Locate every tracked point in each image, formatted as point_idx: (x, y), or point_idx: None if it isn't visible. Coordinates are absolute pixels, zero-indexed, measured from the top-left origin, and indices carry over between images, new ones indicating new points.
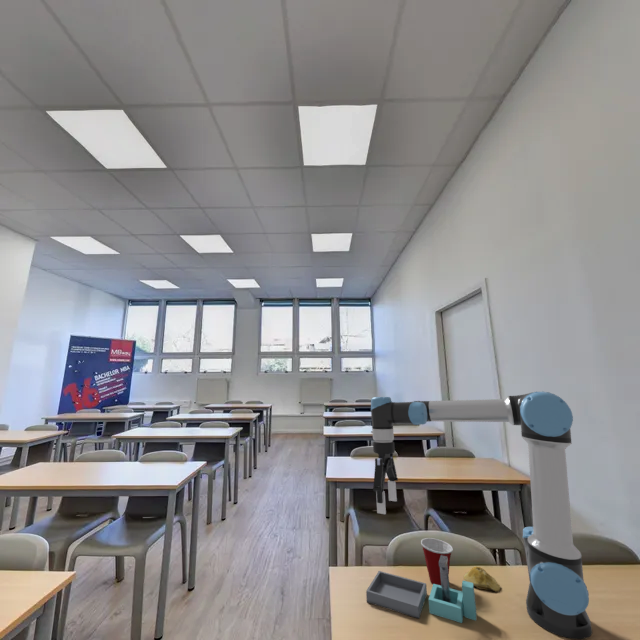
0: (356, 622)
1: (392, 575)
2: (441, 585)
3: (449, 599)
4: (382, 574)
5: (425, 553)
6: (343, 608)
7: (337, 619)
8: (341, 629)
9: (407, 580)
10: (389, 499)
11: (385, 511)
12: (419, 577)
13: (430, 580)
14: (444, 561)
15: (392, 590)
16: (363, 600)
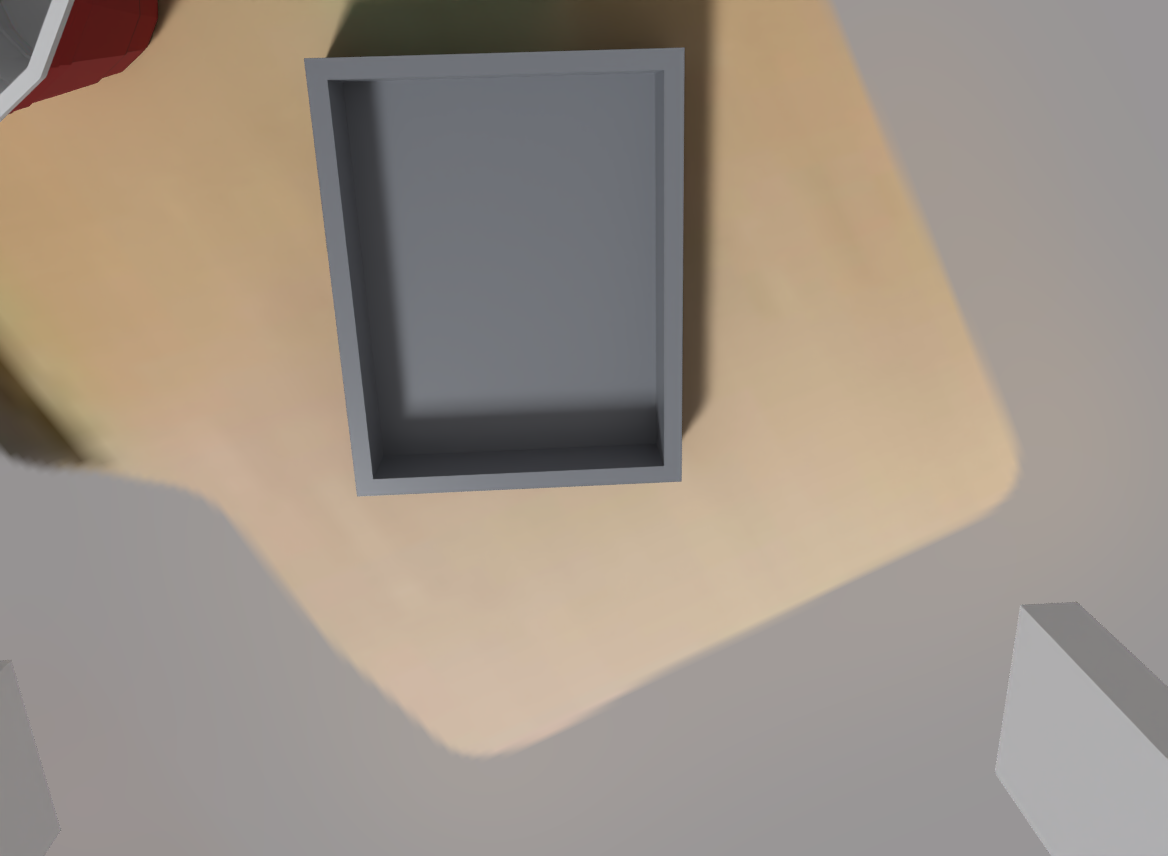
0: (894, 434)
1: (359, 373)
2: None
3: None
4: (372, 456)
5: (51, 75)
6: (804, 556)
7: (916, 543)
8: (988, 486)
9: (347, 235)
10: (43, 836)
11: (1082, 633)
12: (109, 183)
13: (129, 63)
14: None
15: (456, 333)
16: None
